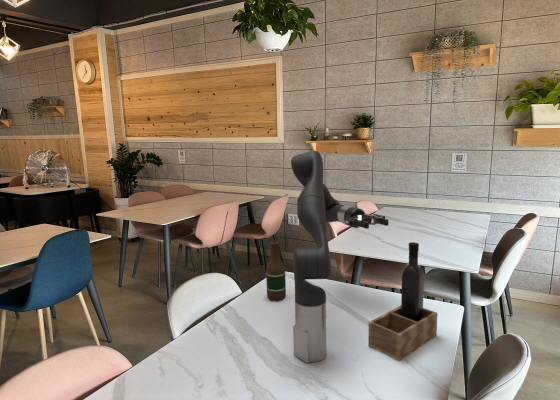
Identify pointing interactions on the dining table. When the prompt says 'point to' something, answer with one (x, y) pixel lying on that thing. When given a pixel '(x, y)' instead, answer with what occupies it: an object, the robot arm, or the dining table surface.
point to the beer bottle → (275, 275)
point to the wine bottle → (412, 287)
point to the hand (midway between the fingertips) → (378, 224)
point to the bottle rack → (401, 333)
